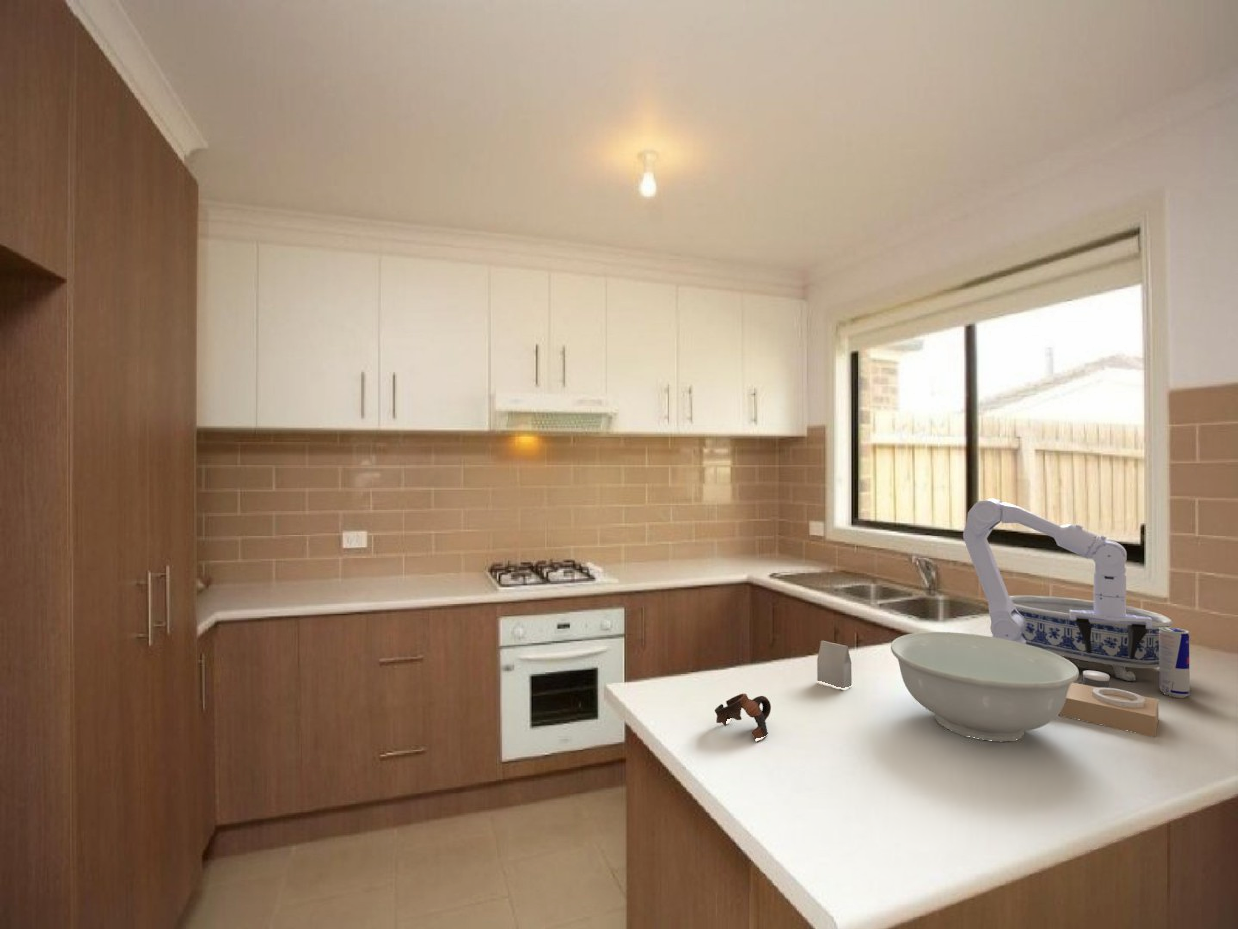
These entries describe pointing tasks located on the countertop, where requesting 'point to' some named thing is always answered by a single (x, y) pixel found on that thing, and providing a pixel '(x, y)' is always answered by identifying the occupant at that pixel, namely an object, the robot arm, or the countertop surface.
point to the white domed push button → (1096, 679)
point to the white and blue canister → (1174, 662)
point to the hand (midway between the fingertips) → (1109, 654)
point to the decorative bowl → (1108, 640)
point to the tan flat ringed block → (1112, 708)
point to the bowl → (984, 682)
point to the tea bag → (834, 665)
